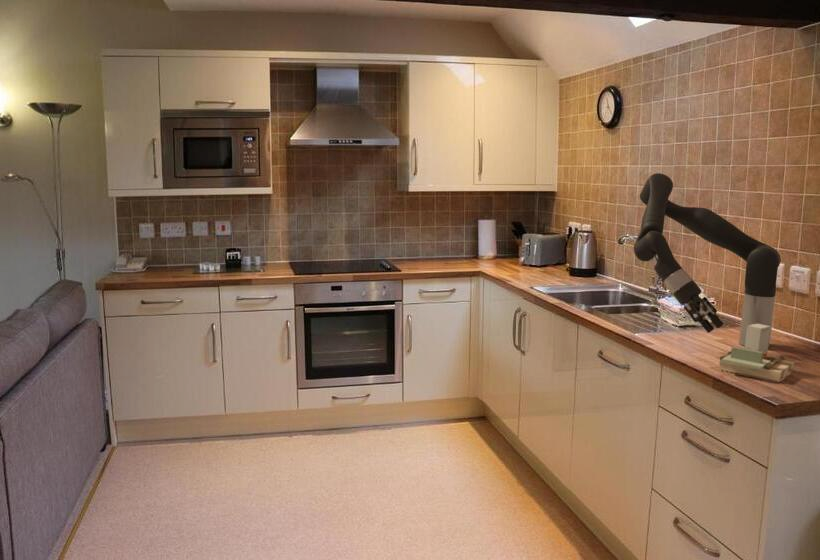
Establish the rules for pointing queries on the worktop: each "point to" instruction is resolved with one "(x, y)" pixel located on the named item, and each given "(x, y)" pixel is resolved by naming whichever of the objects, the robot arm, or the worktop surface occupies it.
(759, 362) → the cover
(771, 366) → the board
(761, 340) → the skincare box
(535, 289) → the worktop surface
